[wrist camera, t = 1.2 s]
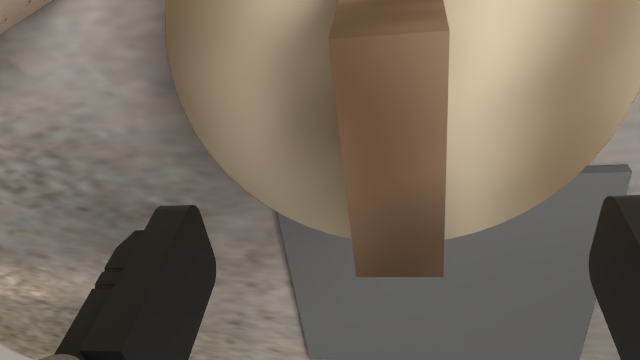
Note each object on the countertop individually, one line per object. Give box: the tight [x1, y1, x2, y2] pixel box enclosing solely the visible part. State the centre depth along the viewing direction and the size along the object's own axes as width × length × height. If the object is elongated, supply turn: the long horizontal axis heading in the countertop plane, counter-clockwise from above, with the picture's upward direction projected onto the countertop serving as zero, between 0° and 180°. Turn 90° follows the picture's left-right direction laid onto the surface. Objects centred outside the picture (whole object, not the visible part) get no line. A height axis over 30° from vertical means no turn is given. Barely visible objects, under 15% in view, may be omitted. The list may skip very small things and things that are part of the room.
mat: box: [277, 165, 632, 360], centre depth 32 cm, size 18×16×1 cm
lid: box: [165, 0, 640, 277], centre depth 15 cm, size 15×15×6 cm
